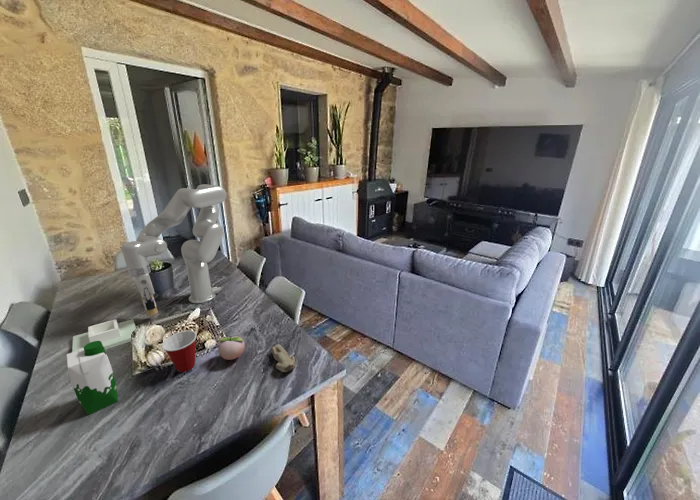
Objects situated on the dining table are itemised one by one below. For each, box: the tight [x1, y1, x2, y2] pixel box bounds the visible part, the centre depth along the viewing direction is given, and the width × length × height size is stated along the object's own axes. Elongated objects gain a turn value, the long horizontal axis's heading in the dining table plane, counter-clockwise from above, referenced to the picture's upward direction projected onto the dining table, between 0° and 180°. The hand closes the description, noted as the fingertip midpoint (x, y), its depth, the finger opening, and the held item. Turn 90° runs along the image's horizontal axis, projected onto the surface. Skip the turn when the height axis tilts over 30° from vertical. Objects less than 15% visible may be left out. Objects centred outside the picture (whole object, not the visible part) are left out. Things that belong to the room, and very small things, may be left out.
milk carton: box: [66, 341, 119, 416], centre depth 86 cm, size 9×9×20 cm
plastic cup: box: [161, 329, 197, 373], centre depth 102 cm, size 11×11×12 cm
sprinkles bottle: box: [138, 291, 159, 317], centre depth 128 cm, size 5×5×14 cm
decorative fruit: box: [217, 335, 246, 361], centre depth 106 cm, size 9×8×10 cm
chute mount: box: [71, 318, 137, 353], centre depth 117 cm, size 20×16×6 cm
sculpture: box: [271, 343, 296, 373], centre depth 106 cm, size 7×5×15 cm
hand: (150, 306), depth 129 cm, fingers closed on sprinkles bottle, 4 cm apart
